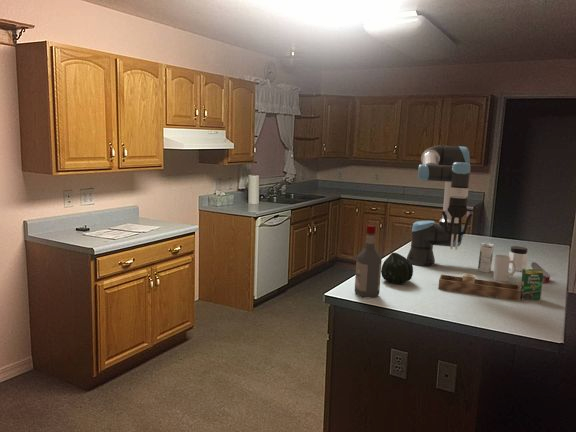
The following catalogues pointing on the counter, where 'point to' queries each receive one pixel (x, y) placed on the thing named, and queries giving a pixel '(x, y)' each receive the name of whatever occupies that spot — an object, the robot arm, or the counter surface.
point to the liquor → (368, 267)
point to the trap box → (481, 287)
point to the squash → (397, 269)
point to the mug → (502, 267)
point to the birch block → (468, 278)
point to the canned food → (545, 274)
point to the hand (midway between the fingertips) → (453, 248)
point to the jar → (518, 257)
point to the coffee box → (531, 284)
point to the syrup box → (485, 257)
